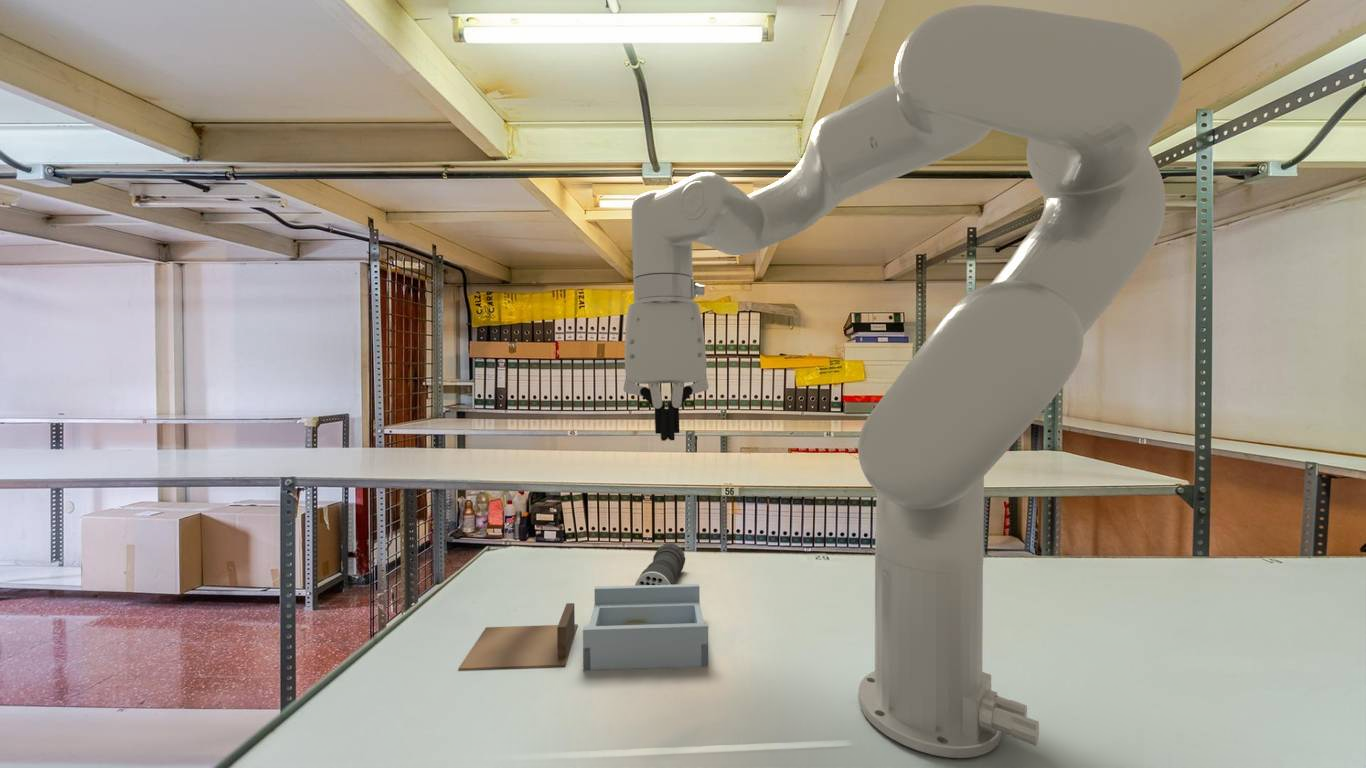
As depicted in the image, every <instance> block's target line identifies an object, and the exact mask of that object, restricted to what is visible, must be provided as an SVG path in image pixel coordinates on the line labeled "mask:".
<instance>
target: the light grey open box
mask: <svg viewBox="0 0 1366 768" xmlns="http://www.w3.org/2000/svg"><path fill="white" fill-rule="evenodd" d="M631 621H643V622H647V623H649V624H650V625H622V624H624V623H627V622H631ZM582 648H583V649H582V662H583V663H582V667H583V668H582V669H583V670H582V671H612V670H613V671H614V670H617V671H618V670H640V669H641V670H642V669H643V670H645V669H647V670H648V669H674V668H675V669H676V668H698V667H699V668H700V667H701V668H704V667H705V668H706V667H709V625H708V622H705V621H704V616H703V612H702V606H701V602H700V584H699V583H684V584H675V585H660V584H659V585H638V586H635V585H605V586H604V585H603V586H602V585H601V586H595V587H594V605H593V609H592V611H591V616H590V619H589V623H588V626H587V625H586V626H583V629H582Z"/></svg>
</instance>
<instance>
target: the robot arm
mask: <svg viewBox="0 0 1366 768" xmlns="http://www.w3.org/2000/svg"><path fill="white" fill-rule="evenodd" d="M893 68H894V69H893V80H894V82H892V83H890V84H888V85H887V86H884V87H882V88H880V89H878V90H876V91H874V92H872V93H870V94H868V95H866V96H864V97H862V98H860V99H858V100H856V101H855V102H853V103H850V104H848V105H846V106H844V107H842V108H840V109H838V110H836V111H834V112H832V113H829V114H827V115H826V116H824V117H822V118H820V119H819V120H818V121H817V122H816V123H815V125H814V126H813V127H812V130H811V133H810V136H809V140H808V142H807V146H806V148H805V152H804V154H803V155H802V158H800V160H799V163H797V165H796V166H795V167H794V168H793V169H792V170H791V171H790V172H788V173H787V175H785V176H784V177H782V178H780V179H779V180H778V181H775V182H774V183H771V184H770V185H768V186H766V187H763V188H760V189H759V190H757V191H754V192H751V193H750V194H747V193H745V192H744V191H742V190H741V189H740V188H739V187H737V186H736V185H734V184H733V183H731V182H730V181H729V180H728V179H726V178H725V177H723V176H722V175H720V174H717V173H715V172H709V171H705V172H698V173H695V174H693V175H691V176H689V177H686V178H684V179H683V180H681V181H678V182H677V183H675V184H673V185H671V186H670V187H667V188H665V189H663V190H662V189H658V190H651V191H647V192H644V193H641V194H640V195H638V196H637V197H636V198H635V199H634V201H633V202H632V206H631V239H632V240H631V241H632V242H631V243H632V273H633V274H632V276H633V303H631V304H629V305H628V307H627V313H626V319H625V331H624V332H625V335H624V336H625V337H624V372H625V379H624V384H623V391H624V393H626V394H631V395H634V396H639V397H642V398H644V399H645V400H646V401H647V402H648V403H649V404H650V405H651V406H652V407H654V431H655V434H656V435H657V434H658V435H659V434H660V440H661V441H662V442H663V441H664V442H665V441H667V440H669V441H675V434H679V433H680V407H681V406H682V405H683V404H684V403H685V401H686V400H688V398H689V397H690V396H691V395H692V396H693V395H694V394H699V393H703V392H706V391H707V390H709V388H710V386H709V383H708V379H707V376H706V374H707V354H706V353H707V352H706V344H705V343H706V342H705V333H704V325H703V318H702V315H701V311H700V305H699V303H697V302H694V299H695V298H696V297H699V296H705V294H706V293H705V291H706V290H705V289H706V288H705V285H704V284H699V283H696V281H695V278H694V276H693V275H694V274H693V268H694V267H693V242H694V243H698V244H702V245H705V246H708V247H711V248H713V249H715V250H716V251H719V252H721V253H723V254H726V255H729V256H742V255H743V256H744V255H748V254H751V253H755V252H758V251H760V250H764V249H765V248H769V247H772V246H774V245H776V244H778V243H782V242H784V241H787V240H789V239H791V238H792V237H795V236H797V235H798V234H801V233H802V232H804V231H806V230H807V229H809V228H810V227H811V226H813V225H814V224H816V223H817V222H818V221H820V220H821V219H822V218H825V216H827V215H829V214H830V213H831V212H832V211H833V210H835V208H836V207H838V206H839V205H840V204H841V203H842V202H844V201H846V200H847V199H851V198H852V197H855V196H857V195H859V194H862V193H865V192H867V191H869V190H871V189H874V188H875V187H877V186H880V185H882V184H885V183H887V182H889V181H892V180H895V179H897V178H900V177H902V176H904V175H907V174H909V173H912V172H915V171H918V170H920V169H922V168H925V167H927V166H930V165H932V164H935V163H937V162H939V161H942V160H944V159H947V158H949V157H952V156H955V155H957V154H959V153H961V152H964V151H965V150H968V149H969V148H971V147H973V146H975V145H976V144H978V143H979V142H981V141H982V140H983V139H985V138H986V137H987V136H988V135H989V134H990V132H991V131H997V132H1001V133H1005V134H1009V135H1010V136H1011V135H1012V136H1015V137H1019V138H1022V139H1026V140H1027V146H1026V162H1027V163H1026V164H1027V168H1028V170H1029V174H1030V176H1031V177H1032V179H1033V181H1034V182H1035V184H1036V186H1037V188H1038V189H1039V191H1040V192H1041V195H1042V197H1043V211H1042V214H1041V216H1040V219H1039V220H1038V222H1037V223H1036V224H1035V226H1034V227H1033V229H1032V230H1030V232H1028V234H1027V235H1026V237H1024V239H1023V240H1022V242H1021V243H1020V244H1019V245H1018V247H1017V249H1016V250H1015V251H1014V253H1013V254H1012V256H1011V257H1010V259H1009V260H1008V261H1007V262H1006V264H1005V266H1004V267H1003V268H1002V269H1001V270H1000V272H999V273H997V275H996V276H995V278H994V279H993V280H992V281H991V283H990V284H987V285H984V286H982V287H979V288H977V289H975V290H974V291H972V292H970V293H968V294H967V295H966V296H964V297H962V299H960V300H959V301H958V302H956V303H955V304H954V306H952V307H951V309H950V310H948V312H947V313H946V314H945V316H944V317H943V318H942V319H941V320H940V322H939V323H938V324H937V325H936V326H935V328H934V329H933V331H932V332H931V333H930V335H929V336H928V337H927V338H926V340H925V341H924V342H923V344H922V345H921V346H920V348H919V349H918V350H917V352H915V353H914V355H913V357H912V358H911V359H910V360H909V362H908V363H907V365H906V366H905V367H904V368H903V370H902V371H901V373H899V375H898V376H897V378H896V379H895V380H894V381H893V383H892V384H891V385H890V386H889V388H888V390H887V391H886V392H885V393H884V395H883V396H882V397H881V398H880V400H879V402H877V404H876V405H875V406H874V408H873V409H872V410H871V412H870V414H869V415H868V416H867V418H866V420H865V421H864V423H863V425H862V428H861V430H860V434H859V437H858V444H857V445H858V446H857V452H858V460H859V465H860V469H861V470H862V473H863V475H864V477H865V479H866V481H867V482H868V483H869V485H870V486H871V487H872V488H873V489H874V491H876V503H875V505H876V506H875V507H876V508H875V531H874V532H875V539H874V540H875V541H874V543H875V544H874V545H875V548H874V549H875V551H874V671H870V673H869V674H867V675H865V676H864V677H863V679H861V681H860V684H859V685H858V703H859V707H860V710H861V711H862V713H863V715H864V716H865V717H866V719H867V720H868V721H869V722H870V723H871V724H872V725H873V726H874V727H875V728H876V729H877V730H879V732H881V733H882V734H884V735H885V736H887V737H888V738H890V739H891V740H894V741H895V742H897V743H899V744H901V745H903V746H905V747H907V748H910V749H913V750H915V751H917V752H921V753H925V754H928V755H933V756H936V757H937V756H938V757H943V758H950V759H951V758H952V759H954V758H955V759H966V758H968V759H969V758H975V757H979V756H982V755H983V756H984V755H985V754H988V753H989V752H991V751H993V750H995V748H997V746H998V745H999V744H1000V741H1001V738H1002V733H1003V734H1006V735H1010V736H1011V738H1014V739H1016V740H1019V741H1022V742H1024V743H1026V744H1028V745H1031V746H1034V747H1037V746H1038V743H1039V735H1040V723H1039V721H1038V720H1036V719H1033V718H1030V717H1028V706H1027V704H1025V703H1024V704H1023V703H1021V702H1019V701H1016V700H1013V699H1007V698H1005V697H1002V696H1000V695H998V692H997V691H994V690H992V674H990V673H987V672H984V671H983V647H984V646H983V637H984V635H983V631H984V629H983V627H984V626H983V624H984V623H983V622H984V621H983V619H984V618H983V617H984V616H983V615H984V613H983V612H984V611H983V609H984V608H983V607H984V601H983V598H984V597H983V595H984V594H983V593H984V588H983V587H984V586H983V585H984V520H985V519H984V513H985V511H984V509H985V508H984V503H985V502H984V498H985V497H984V496H985V495H984V493H985V488H984V487H985V475H986V474H988V472H989V471H990V470H991V469H992V468H993V467H994V466H995V465H996V463H997V462H998V461H999V460H1000V459H1001V458H1002V457H1003V456H1004V455H1005V453H1007V451H1008V450H1009V449H1010V448H1011V447H1012V446H1013V445H1014V443H1015V442H1016V441H1017V440H1018V439H1019V438H1020V437H1021V436H1022V434H1024V432H1025V431H1026V430H1027V429H1028V427H1030V426H1031V424H1033V422H1034V421H1035V420H1036V419H1037V418H1038V417H1039V415H1040V414H1041V413H1042V412H1043V411H1044V410H1045V408H1046V407H1048V405H1049V404H1050V403H1051V402H1052V401H1053V399H1054V398H1055V397H1056V396H1057V395H1058V393H1059V392H1060V391H1061V390H1062V389H1063V388H1064V386H1065V385H1066V384H1067V382H1068V380H1070V378H1071V377H1072V375H1073V374H1074V372H1075V370H1076V368H1077V366H1078V364H1079V362H1080V359H1081V358H1082V357H1081V356H1082V354H1083V348H1084V339H1085V338H1084V336H1085V335H1086V334H1087V332H1088V331H1089V329H1091V328H1092V326H1093V325H1094V324H1095V322H1096V321H1098V319H1099V318H1100V317H1101V316H1102V315H1103V313H1105V312H1106V310H1107V309H1108V307H1109V306H1110V305H1111V304H1112V302H1113V301H1114V299H1115V298H1116V297H1117V296H1118V294H1119V293H1120V292H1121V290H1122V289H1123V288H1124V287H1125V285H1126V284H1127V283H1128V282H1129V280H1130V279H1131V278H1132V277H1133V276H1134V274H1135V273H1136V272H1137V271H1138V269H1139V268H1140V267H1141V265H1142V264H1143V262H1145V260H1146V259H1147V257H1148V256H1149V254H1151V253H1150V252H1152V250H1153V248H1154V246H1155V244H1156V243H1157V240H1158V239H1159V237H1160V234H1161V231H1162V229H1163V226H1164V221H1165V215H1166V206H1167V204H1166V191H1165V190H1166V189H1165V184H1164V180H1163V177H1162V175H1161V172H1160V170H1159V167H1158V165H1157V163H1156V161H1155V158H1154V157H1153V155H1152V153H1151V150H1150V148H1149V147H1150V145H1151V143H1152V142H1153V141H1154V140H1155V138H1156V136H1157V135H1158V133H1159V132H1160V131H1161V130H1162V128H1163V126H1164V125H1165V124H1166V122H1167V121H1168V119H1169V118H1170V116H1171V114H1172V112H1173V111H1174V109H1175V107H1176V105H1177V103H1178V101H1179V97H1180V94H1181V90H1182V88H1183V87H1182V86H1183V66H1182V64H1181V60H1180V56H1179V54H1178V53H1177V51H1176V49H1174V48H1173V46H1172V44H1170V42H1168V41H1167V40H1165V39H1164V38H1163V37H1162V36H1161V35H1158V34H1157V33H1155V32H1152V31H1150V30H1148V29H1144V28H1141V27H1139V26H1135V25H1132V24H1127V23H1122V22H1117V21H1112V20H1111V21H1110V20H1103V19H1097V18H1091V17H1084V16H1077V15H1070V14H1063V13H1056V12H1051V11H1045V10H1044V11H1043V10H1036V9H1029V8H1024V7H1023V8H1021V7H1014V6H1005V5H991V4H973V5H972V4H971V5H963V6H955V7H953V8H949V9H945V10H943V11H940V12H938V13H935V14H934V15H932V16H930V17H928V18H926V19H925V21H922V22H921V23H920V24H919V25H917V26H916V27H915V28H914V29H913V30H912V31H911V32H910V33H909V34H908V36H907V37H906V38H905V40H904V41H903V42H902V44H901V46H900V49H899V51H898V53H897V55H896V58H895V63H894V66H893ZM686 383H691V384H688V385H685V384H686ZM638 384H644V385H645V384H646V385H647V384H648V387H646V386H642V385H638ZM660 384H672V386H671V393H670V394H671V395H670V401H669V402H668V403H667V405H668V407H667V408H665V407H666V405H665V402H664V401H663V398H662V393H661V387H660Z"/></svg>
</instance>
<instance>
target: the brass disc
mask: <svg viewBox="0 0 1366 768" xmlns="http://www.w3.org/2000/svg"><path fill="white" fill-rule="evenodd" d="M622 625H650V624H649V623H647V622H643V621H631V622H627V623H624V624H622Z"/></svg>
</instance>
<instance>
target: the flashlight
mask: <svg viewBox="0 0 1366 768" xmlns="http://www.w3.org/2000/svg"><path fill="white" fill-rule="evenodd" d="M685 564H686V556H685V552H684V550H683V548H682V547H680V546H679V545H677V544H675V543H664V544H663V545H661V546H659V547H658V549H657V550H656V551H655V553H654V554H653V558H652V562H651V563H649V565H648V566H647V567H646V568H645V569H644V570H643V571H642V572H641V574H640V575H639V577H638V579H637V580H636V582H635V584H634V586H638V585H676V583H677V577H678V575H680V573H681V572H682V571H683V568H684V566H685Z"/></svg>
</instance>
